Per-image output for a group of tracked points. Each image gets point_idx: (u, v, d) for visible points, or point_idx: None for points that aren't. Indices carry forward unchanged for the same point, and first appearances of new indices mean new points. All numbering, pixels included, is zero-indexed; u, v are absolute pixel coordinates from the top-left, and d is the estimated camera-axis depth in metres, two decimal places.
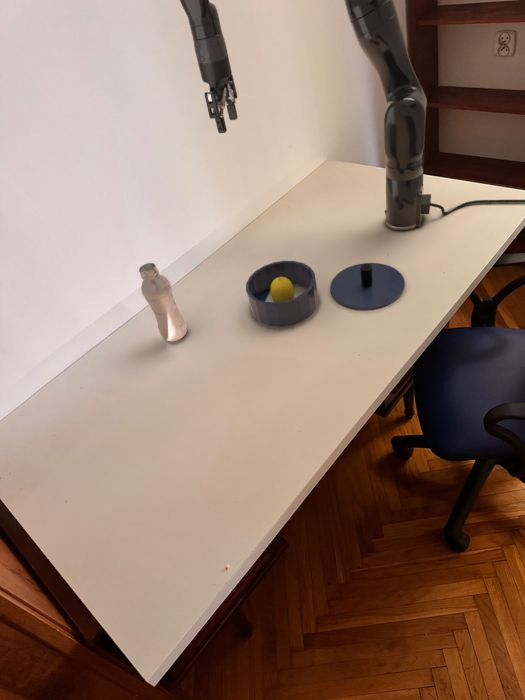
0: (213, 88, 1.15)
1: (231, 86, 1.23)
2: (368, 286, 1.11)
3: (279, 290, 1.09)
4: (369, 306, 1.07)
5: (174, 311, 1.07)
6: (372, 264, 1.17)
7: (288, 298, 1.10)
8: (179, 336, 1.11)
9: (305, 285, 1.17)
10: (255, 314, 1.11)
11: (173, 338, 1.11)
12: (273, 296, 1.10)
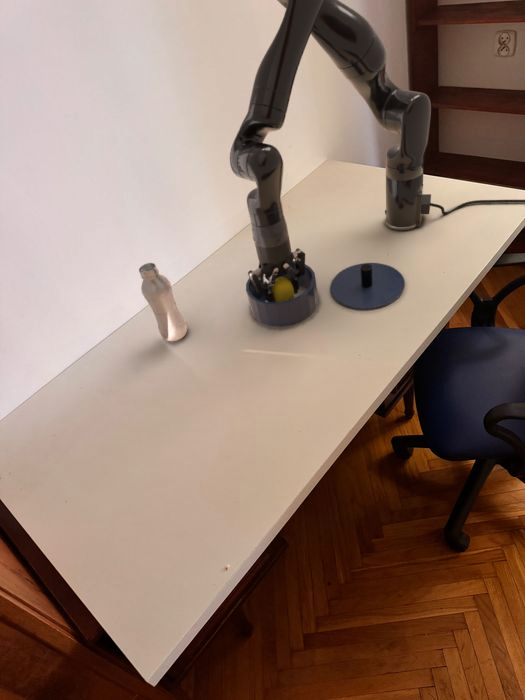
0: (261, 265, 1.04)
1: (299, 263, 1.08)
2: (368, 286, 1.11)
3: (279, 290, 1.09)
4: (369, 306, 1.07)
5: (174, 311, 1.07)
6: (372, 264, 1.17)
7: (288, 298, 1.10)
8: (179, 336, 1.11)
9: (305, 285, 1.17)
10: (255, 314, 1.11)
11: (173, 338, 1.11)
12: None
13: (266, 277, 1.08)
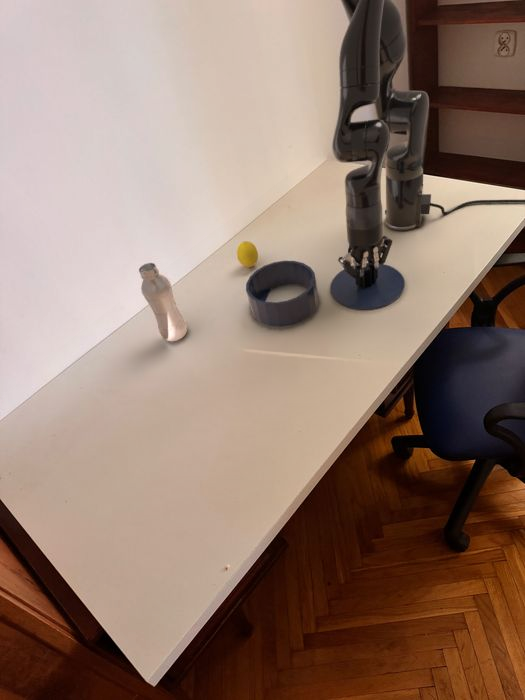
0: (351, 249, 1.04)
1: (383, 250, 1.07)
2: (368, 286, 1.11)
3: (244, 253, 1.23)
4: (369, 306, 1.07)
5: (174, 311, 1.07)
6: None
7: (252, 260, 1.25)
8: (179, 336, 1.11)
9: (305, 285, 1.17)
10: (255, 314, 1.11)
11: (173, 338, 1.11)
12: (239, 258, 1.25)
13: (356, 261, 1.08)
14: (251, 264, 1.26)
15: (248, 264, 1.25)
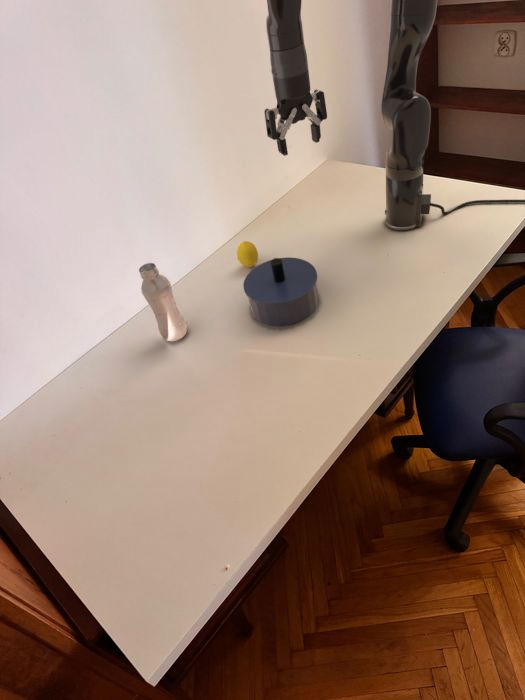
0: (279, 106, 1.01)
1: (319, 105, 1.05)
2: (280, 281, 1.08)
3: (244, 253, 1.23)
4: (277, 302, 1.03)
5: (174, 311, 1.07)
6: (289, 259, 1.14)
7: (252, 260, 1.25)
8: (179, 336, 1.11)
9: None
10: (255, 314, 1.11)
11: (173, 338, 1.11)
12: (239, 258, 1.25)
13: (281, 122, 1.04)
14: (251, 264, 1.26)
15: (248, 264, 1.25)
